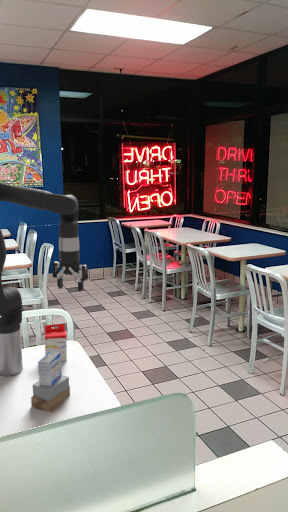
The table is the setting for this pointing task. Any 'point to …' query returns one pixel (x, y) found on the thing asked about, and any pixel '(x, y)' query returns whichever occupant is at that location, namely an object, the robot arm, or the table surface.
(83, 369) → the table surface
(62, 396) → the walnut base slab
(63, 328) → the ink box
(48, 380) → the medicine box
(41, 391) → the slate top slab
